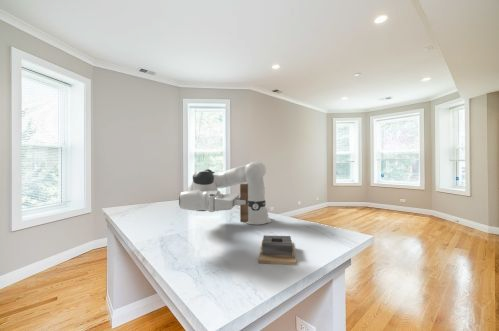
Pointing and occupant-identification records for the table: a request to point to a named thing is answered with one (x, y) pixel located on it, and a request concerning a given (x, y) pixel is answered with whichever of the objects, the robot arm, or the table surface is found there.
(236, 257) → the table surface
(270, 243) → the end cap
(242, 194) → the walnut slat
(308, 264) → the table surface
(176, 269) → the table surface
